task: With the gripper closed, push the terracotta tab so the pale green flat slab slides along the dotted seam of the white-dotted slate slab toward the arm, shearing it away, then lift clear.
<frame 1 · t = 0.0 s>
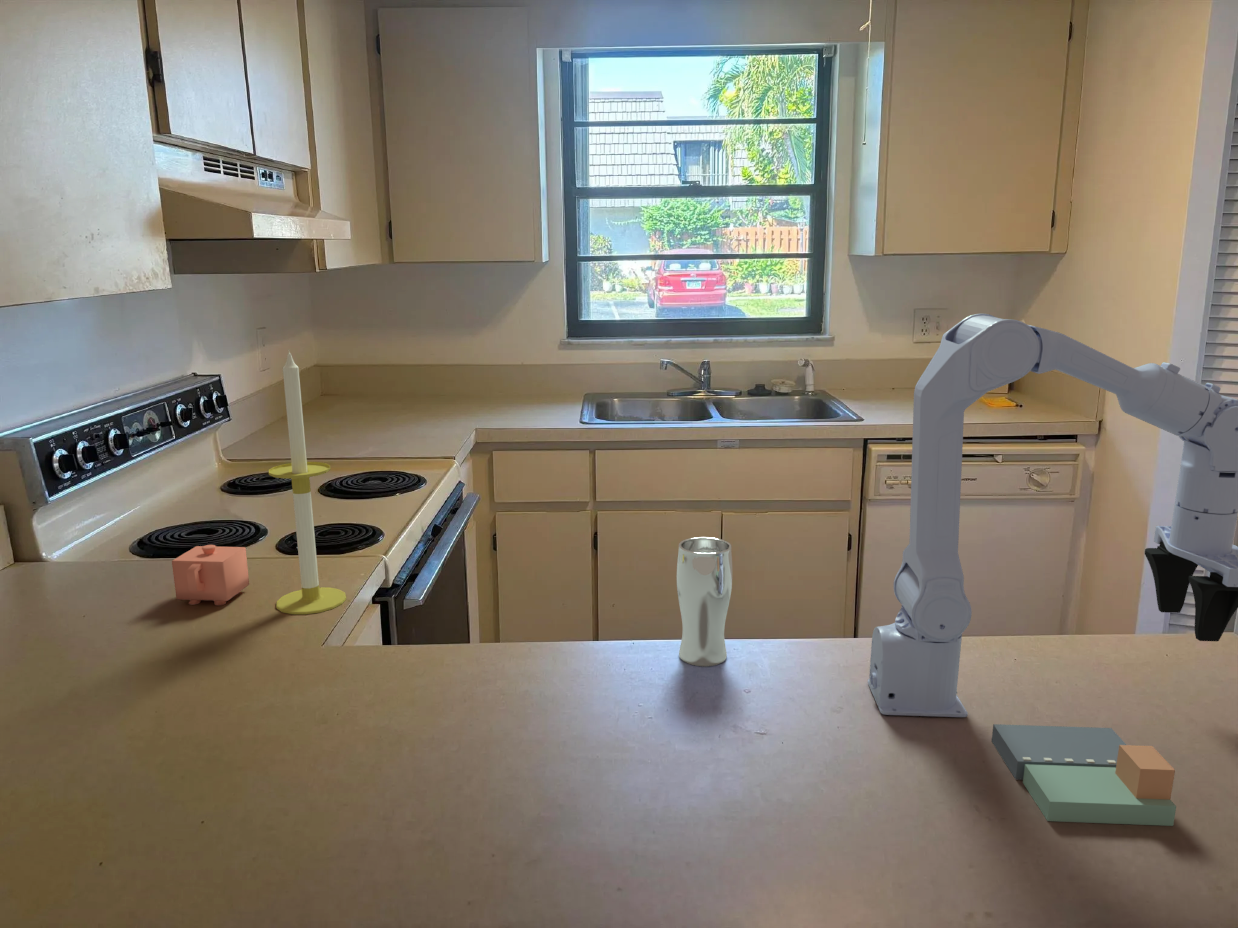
hand: (1187, 625, 98), 10 cm above the countertop, tool pointing down, fingers open, 7 cm apart
pink cube teapot: (216, 597, 134), on the countertop
white-dotted slate slab: (1063, 761, 90), on the countertop
pale green flat slab: (1098, 779, 83), point 2 cm above the countertop, slide at 0.0 cm
beer glass: (702, 657, 114), on the countertop
candle: (311, 602, 132), on the countertop
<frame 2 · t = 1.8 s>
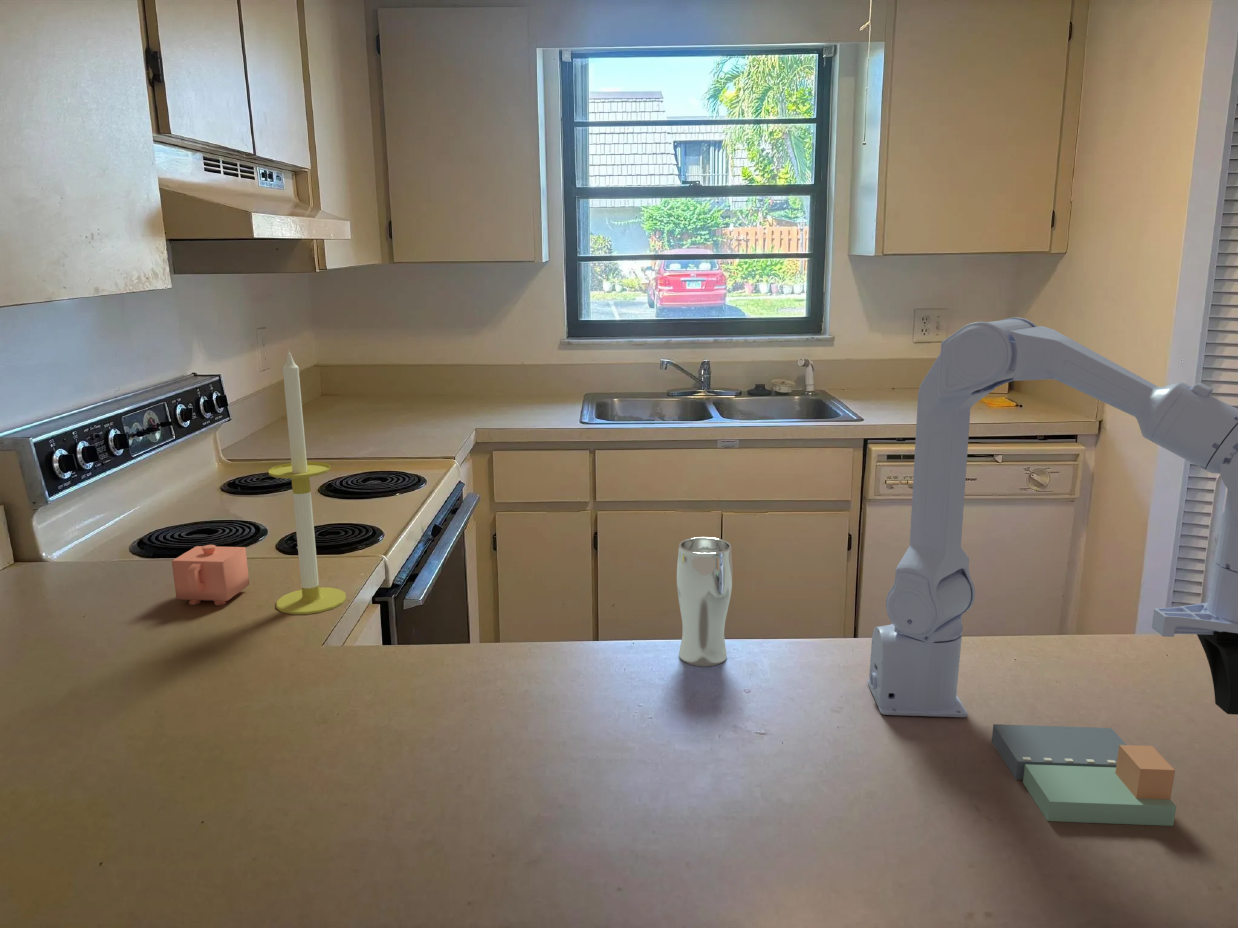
hand: (1229, 708, 80), 10 cm above the countertop, tool pointing down, fingers closed
nothing on the countertop moved.
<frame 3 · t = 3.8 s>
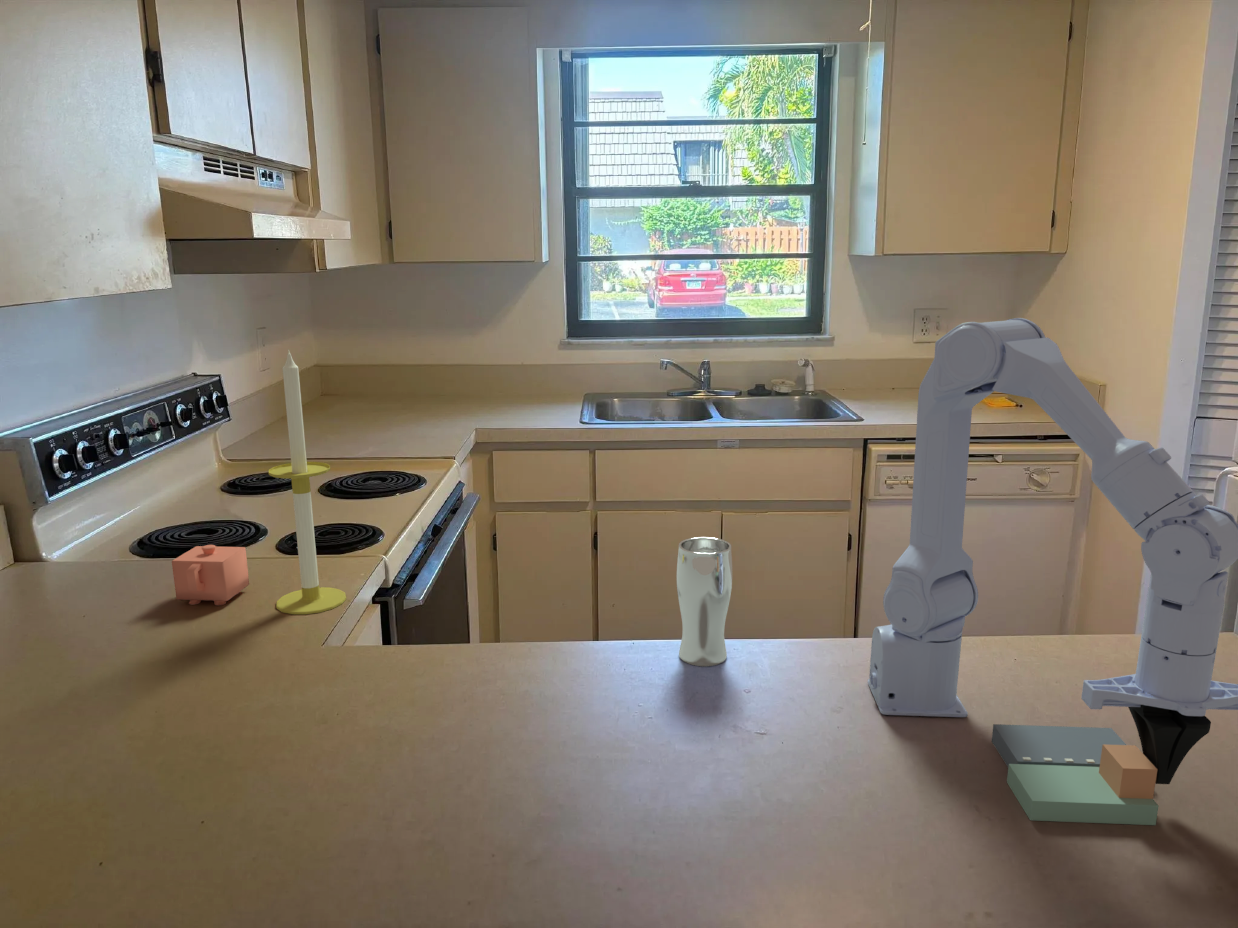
hand: (1157, 777, 82), 3 cm above the countertop, tool pointing down, fingers closed
pale green flat slab: (1081, 778, 83), point 2 cm above the countertop, slide at 1.5 cm, touching gripper
everything else where it was.
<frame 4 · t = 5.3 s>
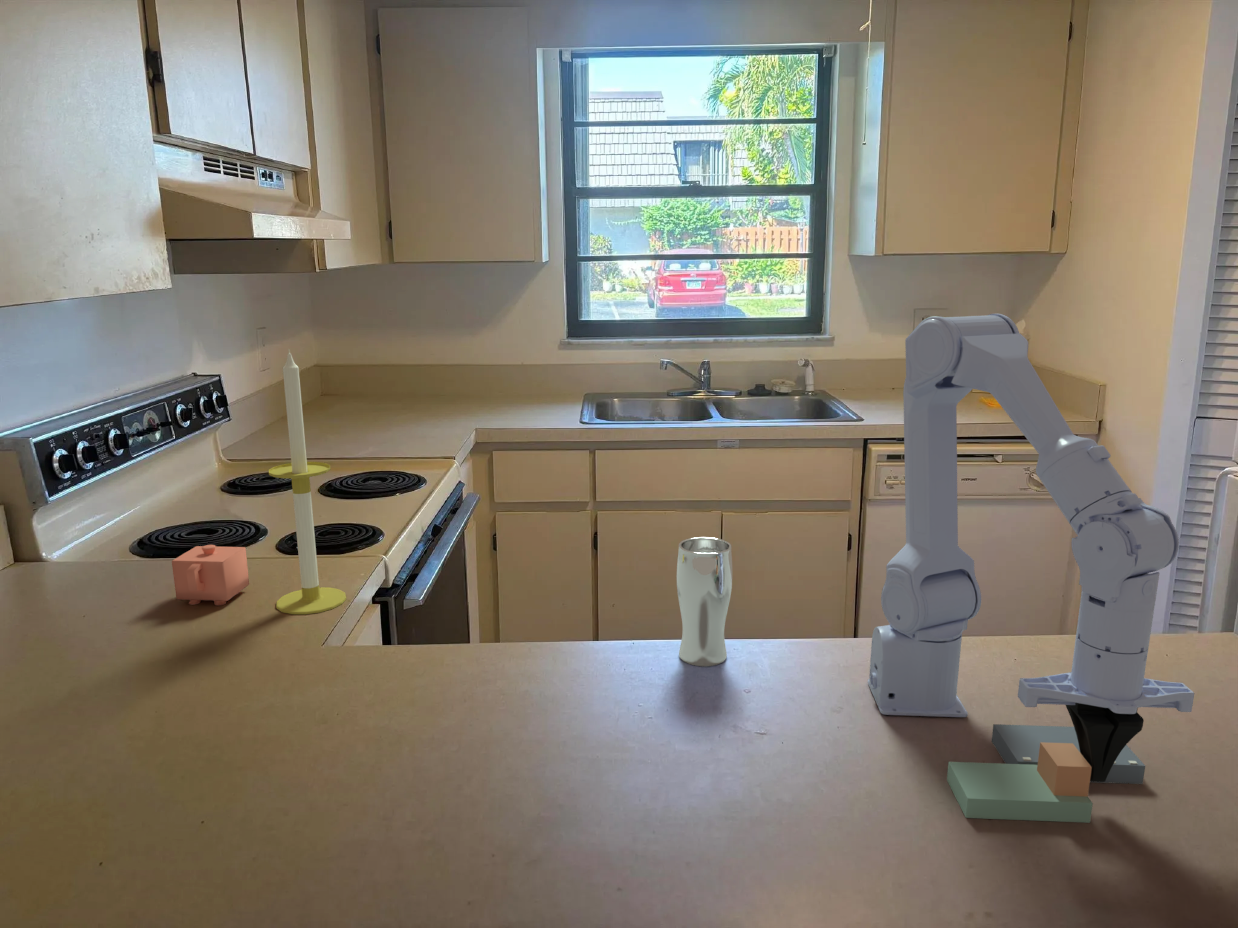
hand: (1093, 775, 83), 3 cm above the countertop, tool pointing down, fingers closed
pale green flat slab: (1018, 776, 83), point 2 cm above the countertop, slide at 7.2 cm, touching gripper
everything else where it was.
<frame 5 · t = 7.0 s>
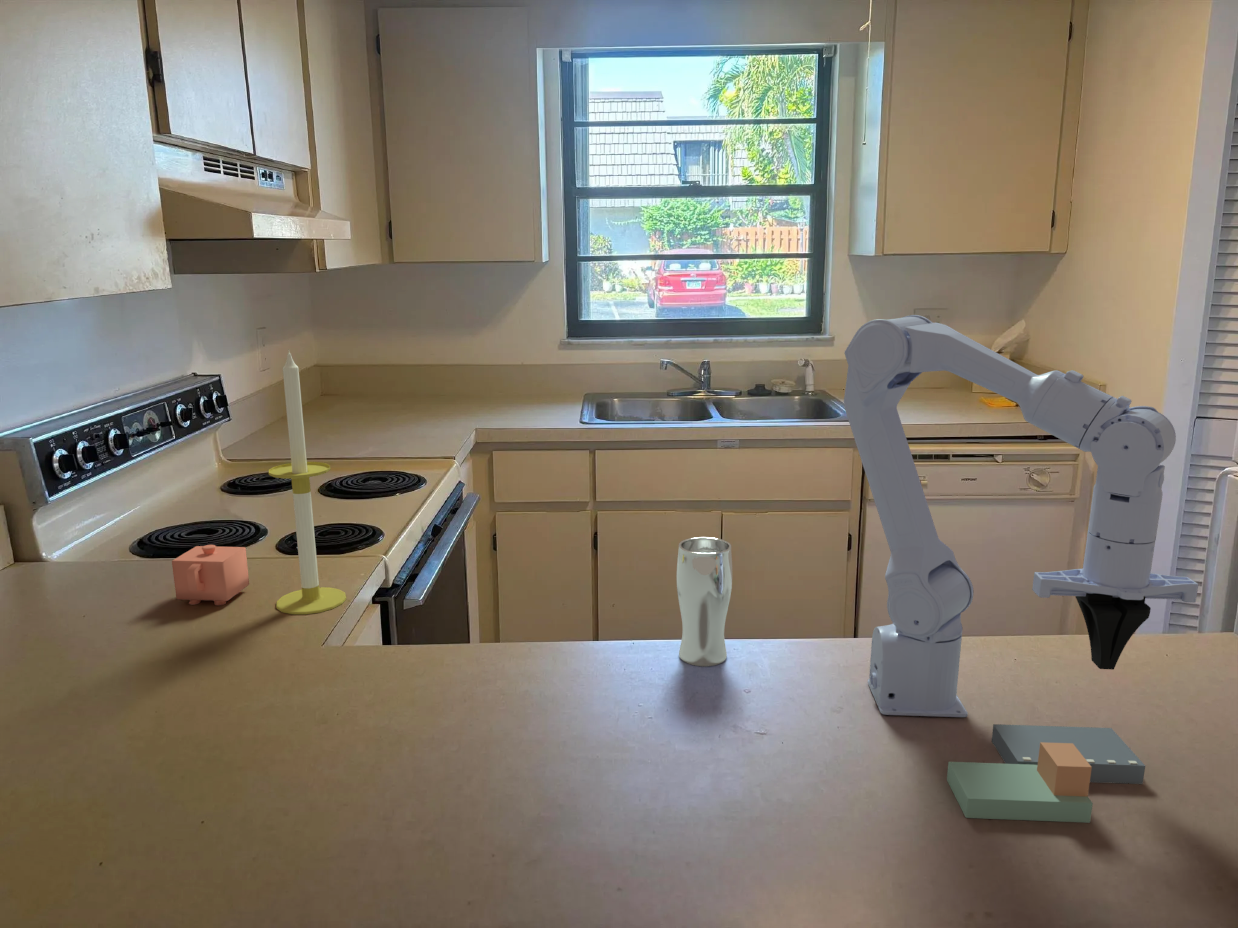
hand: (1102, 664, 88), 10 cm above the countertop, tool pointing down, fingers closed
pale green flat slab: (1018, 776, 83), point 2 cm above the countertop, slide at 7.2 cm
everything else where it was.
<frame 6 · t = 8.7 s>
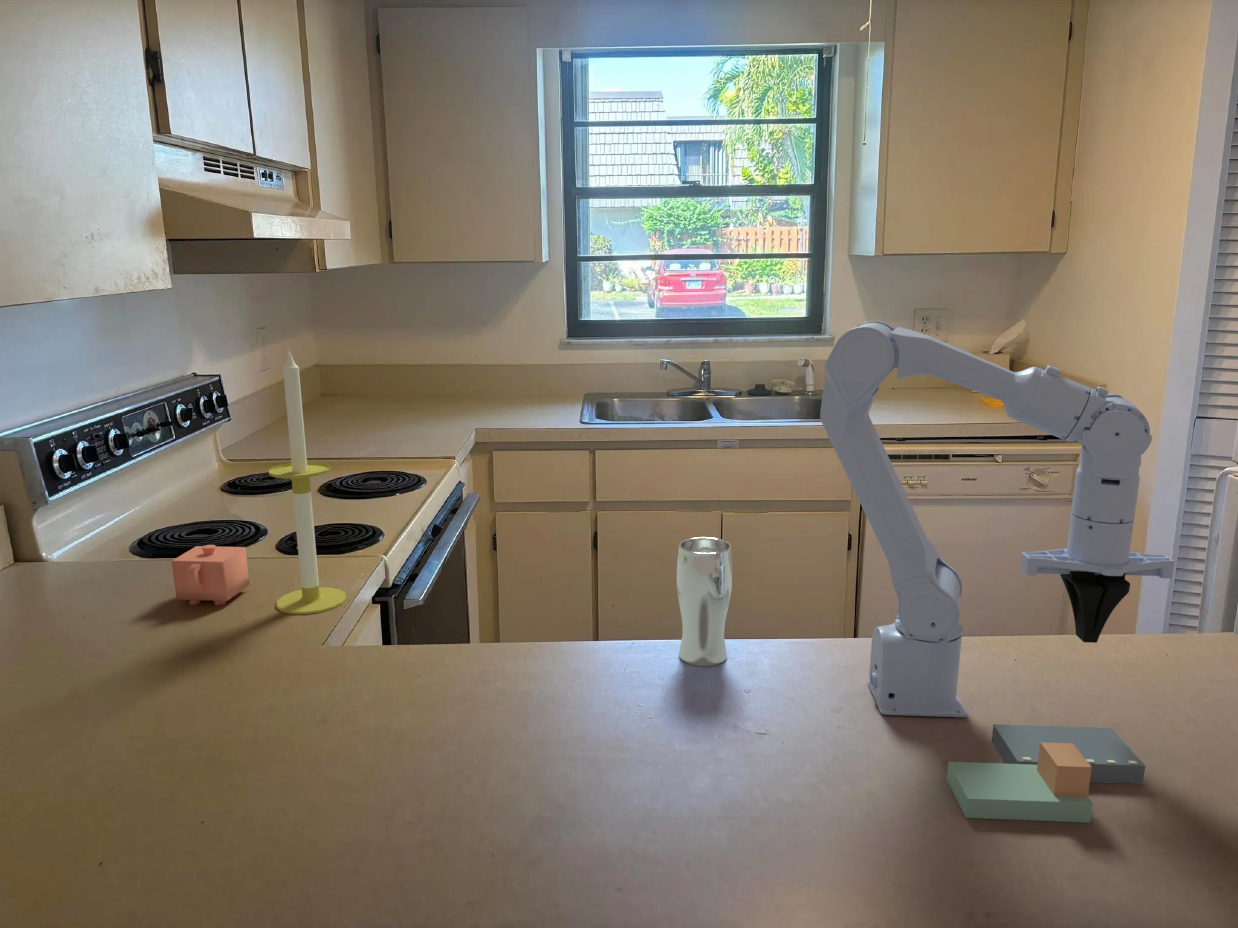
hand: (1086, 638, 94), 10 cm above the countertop, tool pointing down, fingers closed
nothing on the countertop moved.
at the end: pale green flat slab slide at 7.2 cm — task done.
